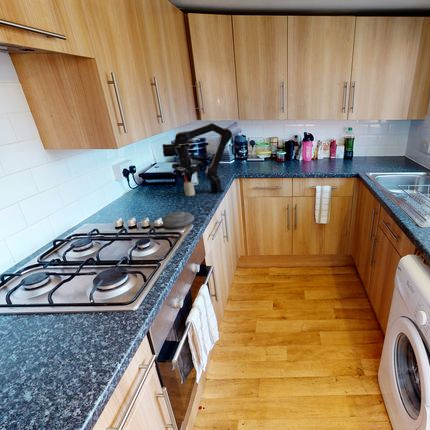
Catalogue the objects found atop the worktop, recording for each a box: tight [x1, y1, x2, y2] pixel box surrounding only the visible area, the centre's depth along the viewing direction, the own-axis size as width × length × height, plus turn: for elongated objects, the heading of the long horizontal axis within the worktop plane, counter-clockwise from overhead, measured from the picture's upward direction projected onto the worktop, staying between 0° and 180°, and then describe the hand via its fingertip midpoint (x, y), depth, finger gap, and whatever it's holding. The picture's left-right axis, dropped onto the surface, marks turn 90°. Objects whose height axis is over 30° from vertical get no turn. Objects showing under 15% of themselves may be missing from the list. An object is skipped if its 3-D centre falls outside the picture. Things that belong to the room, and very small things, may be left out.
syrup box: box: [186, 165, 200, 186], centre depth 187 cm, size 6×6×14 cm
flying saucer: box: [161, 210, 195, 229], centre depth 135 cm, size 15×15×6 cm
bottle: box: [183, 181, 196, 197], centre depth 170 cm, size 6×6×11 cm
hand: (187, 181), depth 169 cm, fingers open, 4 cm apart
